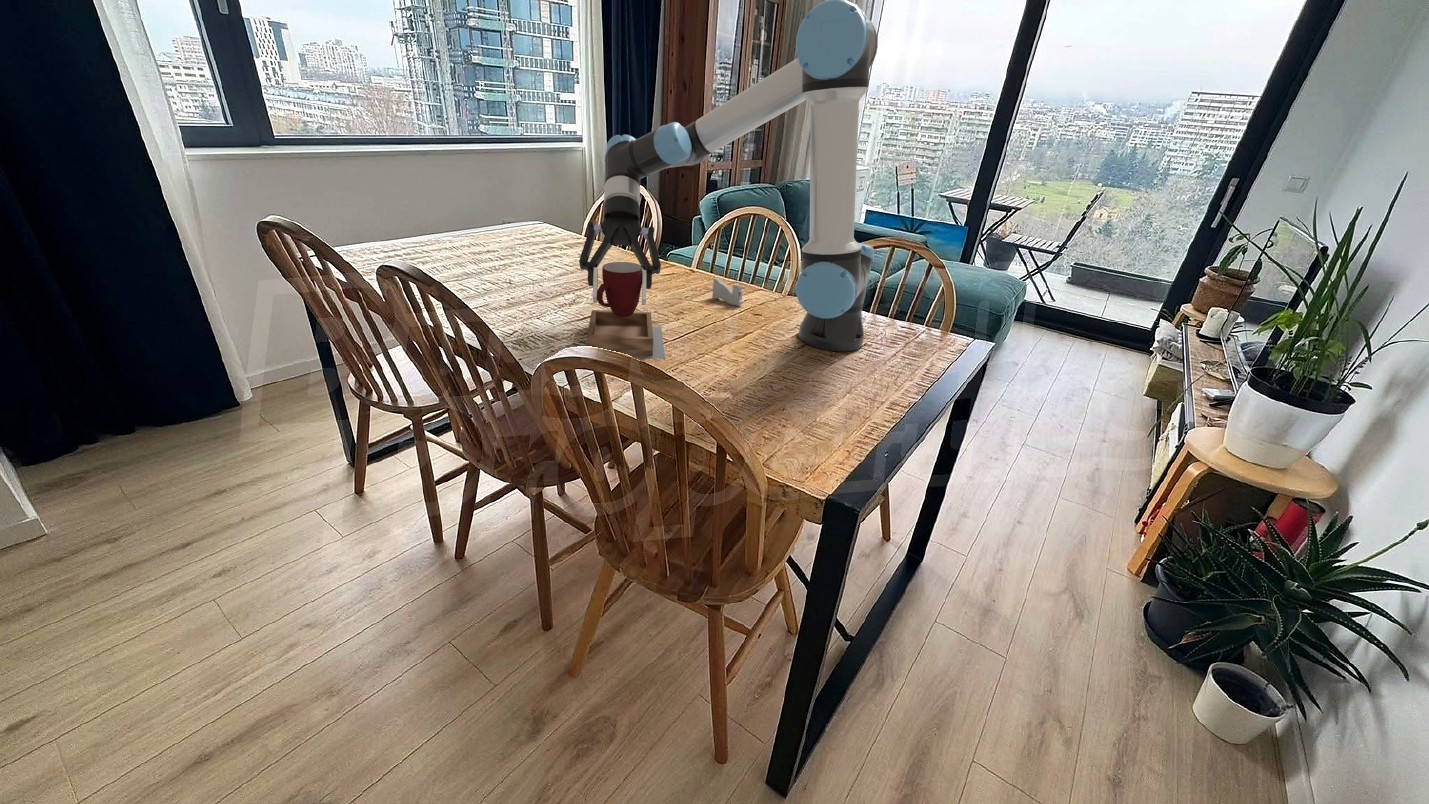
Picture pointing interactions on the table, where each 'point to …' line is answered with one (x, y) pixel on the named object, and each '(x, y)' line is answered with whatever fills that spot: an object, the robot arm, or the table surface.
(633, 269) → the mug
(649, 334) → the wooden tray
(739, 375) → the table surface
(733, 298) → the notched grey bracket
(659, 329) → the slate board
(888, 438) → the table surface
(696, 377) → the table surface
